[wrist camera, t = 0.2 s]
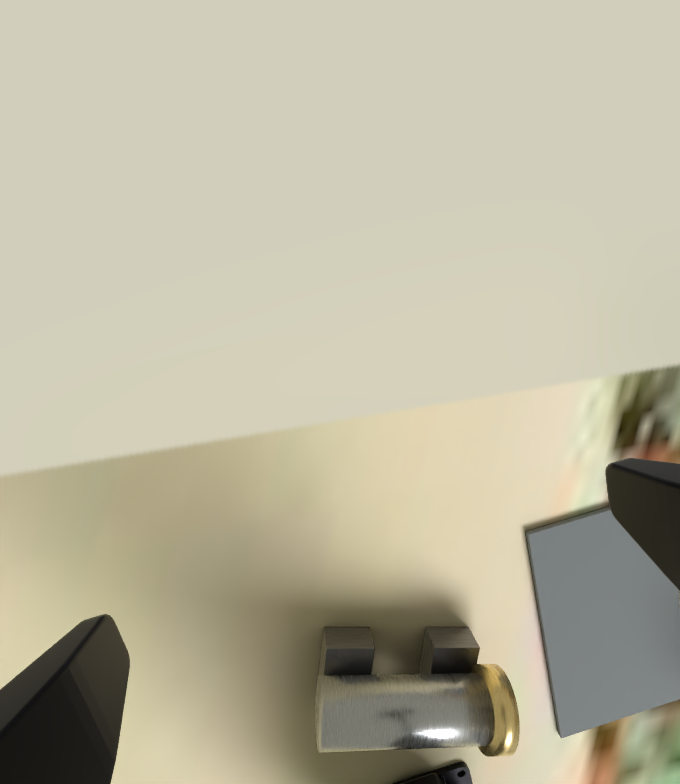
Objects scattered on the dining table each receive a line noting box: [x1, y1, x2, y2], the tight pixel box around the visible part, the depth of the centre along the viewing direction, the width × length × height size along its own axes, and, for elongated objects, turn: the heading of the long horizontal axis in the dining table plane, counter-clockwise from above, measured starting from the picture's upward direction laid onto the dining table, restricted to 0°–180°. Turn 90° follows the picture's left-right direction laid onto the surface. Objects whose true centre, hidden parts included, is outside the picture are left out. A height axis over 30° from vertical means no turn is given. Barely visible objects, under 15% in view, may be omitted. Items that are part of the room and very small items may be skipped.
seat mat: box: [526, 507, 680, 738], centre depth 28 cm, size 14×8×1 cm, turn 14°
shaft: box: [315, 627, 519, 756], centre depth 24 cm, size 9×4×5 cm, turn 84°
